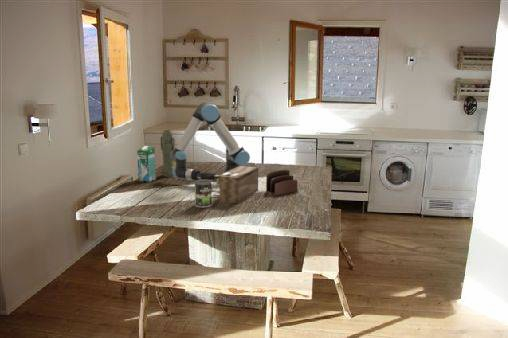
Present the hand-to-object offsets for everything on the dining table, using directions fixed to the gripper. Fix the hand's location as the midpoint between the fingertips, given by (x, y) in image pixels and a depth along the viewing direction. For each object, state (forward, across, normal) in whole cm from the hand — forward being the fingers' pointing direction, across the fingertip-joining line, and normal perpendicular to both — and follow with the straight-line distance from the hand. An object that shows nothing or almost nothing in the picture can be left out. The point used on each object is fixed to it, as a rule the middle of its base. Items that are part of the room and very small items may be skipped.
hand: (223, 178), depth 317 cm
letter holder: (+39, -11, -8) cm, 42 cm away
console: (+16, +9, -8) cm, 20 cm away
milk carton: (-63, 0, -8) cm, 63 cm away
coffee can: (+6, +38, -8) cm, 40 cm away
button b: (+8, +9, -2) cm, 12 cm away
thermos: (-56, -18, -8) cm, 60 cm away
